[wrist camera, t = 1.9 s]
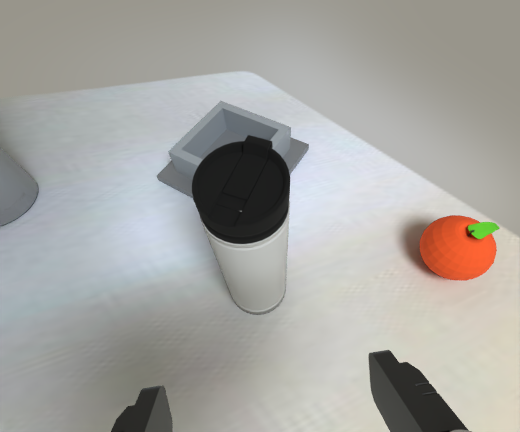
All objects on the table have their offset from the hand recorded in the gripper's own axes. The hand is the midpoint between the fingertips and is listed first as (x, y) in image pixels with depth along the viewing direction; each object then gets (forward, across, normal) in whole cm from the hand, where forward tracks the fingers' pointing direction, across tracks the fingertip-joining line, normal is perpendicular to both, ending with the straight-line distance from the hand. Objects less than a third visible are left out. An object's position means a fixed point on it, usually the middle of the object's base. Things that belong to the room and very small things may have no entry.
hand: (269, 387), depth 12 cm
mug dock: (+36, +1, -7) cm, 37 cm away
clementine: (+23, -22, +7) cm, 32 cm away
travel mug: (+23, 0, +6) cm, 24 cm away
